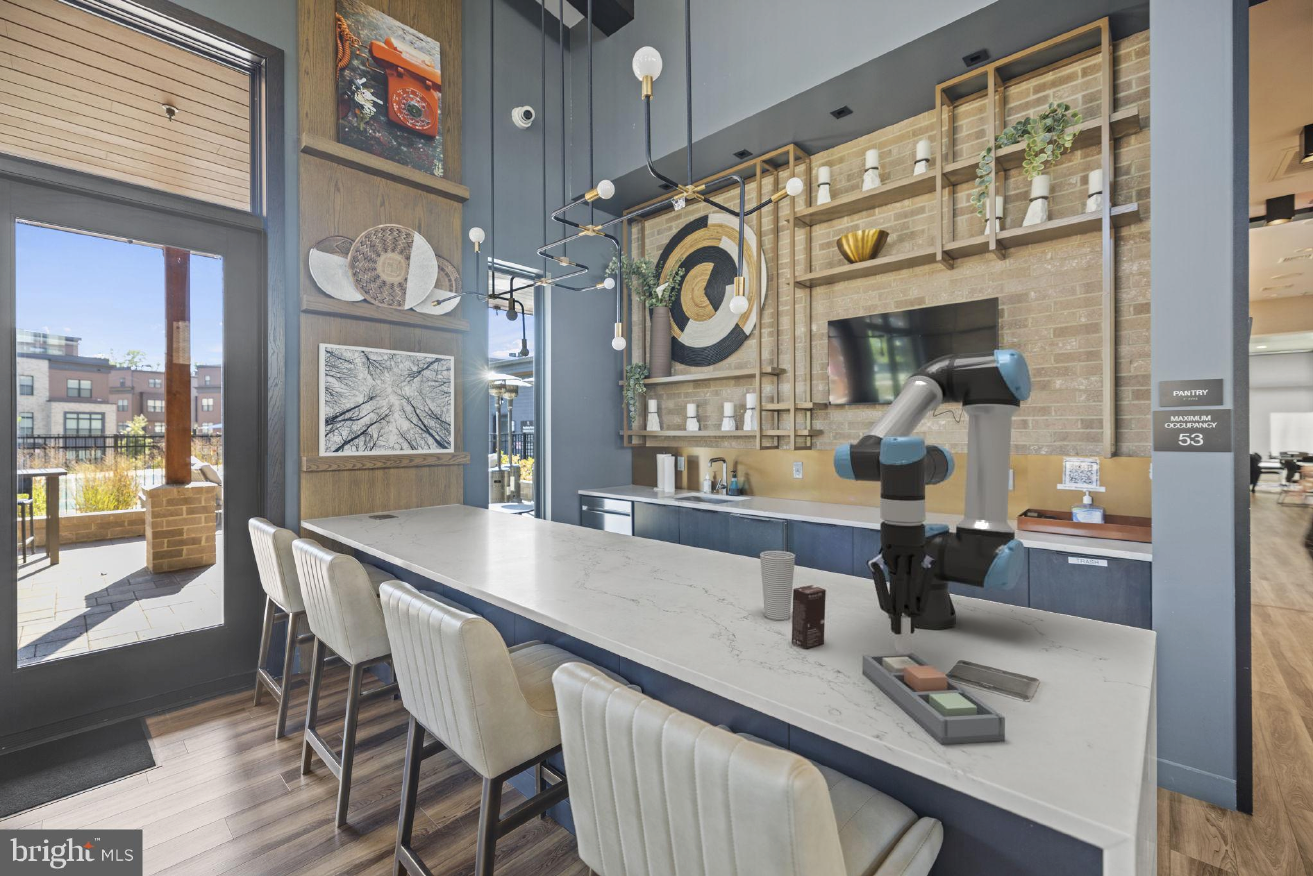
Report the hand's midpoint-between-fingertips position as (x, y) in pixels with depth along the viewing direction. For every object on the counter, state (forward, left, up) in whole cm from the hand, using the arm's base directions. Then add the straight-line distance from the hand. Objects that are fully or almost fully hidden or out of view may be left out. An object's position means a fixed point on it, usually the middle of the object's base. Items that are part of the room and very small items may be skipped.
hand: (902, 650), depth 105 cm
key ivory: (0, 0, -5) cm, 5 cm away
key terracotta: (0, +8, -3) cm, 8 cm away
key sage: (0, +15, -5) cm, 16 cm away
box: (+10, -20, -6) cm, 24 cm away
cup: (+11, -39, -6) cm, 41 cm away
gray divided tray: (0, +8, -6) cm, 10 cm away
